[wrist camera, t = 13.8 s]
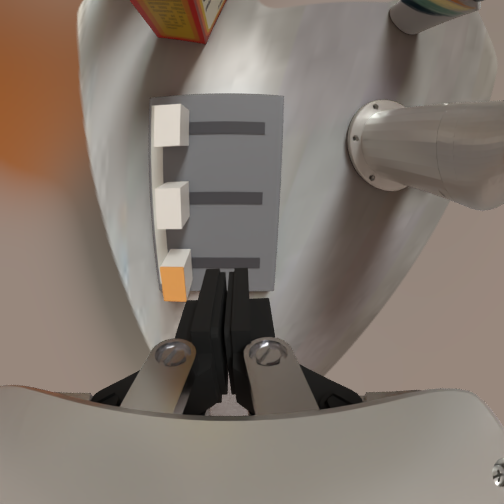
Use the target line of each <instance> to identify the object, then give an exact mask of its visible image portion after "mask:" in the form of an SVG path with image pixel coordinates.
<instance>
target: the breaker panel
mask: <svg viewBox="0 0 504 504" xmlns="http://www.w3.org/2000/svg"><path fill="white" fill-rule="evenodd" d="M170 104H182V105H183V106H184V107H186V108H187V109H188V110H189V146H171V147H154V108H155V106H159V105H170ZM283 111H284V96H279V95H264V94H191V95H176V96H164V97H155V98H150V109H149V179H150V200H151V216H152V228H153V239H154V249H155V258H156V267H157V275H158V282H159V289H160V290H163V289H162V281H161V274H160V266H161V265H162V263H163V261H164V259H165V258H166V256H167V254H168V252H169V251H170V249H191V261H192V276H193V280H192V283H191V287H190V291H200V290H201V286H202V283H203V279H204V275H205V271H206V269H220V272H225V274H226V285H227V290H228V280H229V272H234V268H248V281H249V291H274V283H275V269H276V254H277V239H278V223H279V205H280V186H281V165H282V141H283ZM181 181H189V211H190V216H189V218H188V220H187V221H186V223H185V225H184V226H183V228H182V229H157V219H156V203H155V188H157V187H159V186H161V185H163V184H164V183H166V182H181Z"/></svg>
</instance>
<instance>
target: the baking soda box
mask: <svg viewBox="0 0 504 504" xmlns="http://www.w3.org/2000/svg"><path fill="white" fill-rule="evenodd" d="M226 1H227V0H130V2H131V3H132V4H133V5H134V7H135V8H136V9H137V11H138V12H139V13H140V14H141V16H142V17H143V18H144V20H145V21H146V22H147V24H148V25H149V26H150V27H151V29H152V30H153V31H154V33H155V34H156V35H157V37H159V38H168V39H176V40H184V41H190V42H196V43H202V44H206V43H207V41H208V38H209V36H210V34H211V32H212V29H213V27H214V25H215V23H216V21H217V19H218V17H219V15H220V12H221V10H222V8H223V6H224V4H225V2H226Z"/></svg>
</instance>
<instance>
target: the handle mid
mask: <svg viewBox="0 0 504 504" xmlns="http://www.w3.org/2000/svg"><path fill="white" fill-rule="evenodd" d="M155 203H156V219H157V229H182V228H183V226H184V225H185V223H186V221H187V220H188V218H189V216H190V211H189V181H181V182H166V183H164V184H163V185H161V186H159V187H157V188H155Z"/></svg>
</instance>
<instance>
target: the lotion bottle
mask: <svg viewBox="0 0 504 504" xmlns="http://www.w3.org/2000/svg"><path fill="white" fill-rule="evenodd" d="M480 1H483V0H400V1H399V2H397V3H396V4H395V5H393V6H392V7H391V9H390V17H391V19H392V21H393V22H394V24H395V25H396V26H397V27H398V28H399V29H400V30H402V31H403V32H405V33H407V34H417V33H420V32H422V31H424V30H427V29H429V28H431V27H434V26H436V25H439V24H441V23H444V22H446V21H449V20H452V19H454V18H457V17H460V16H463V15H466V14H469V13H472V12H474V11H477V10H479V9H480V8H481V3H480Z"/></svg>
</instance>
